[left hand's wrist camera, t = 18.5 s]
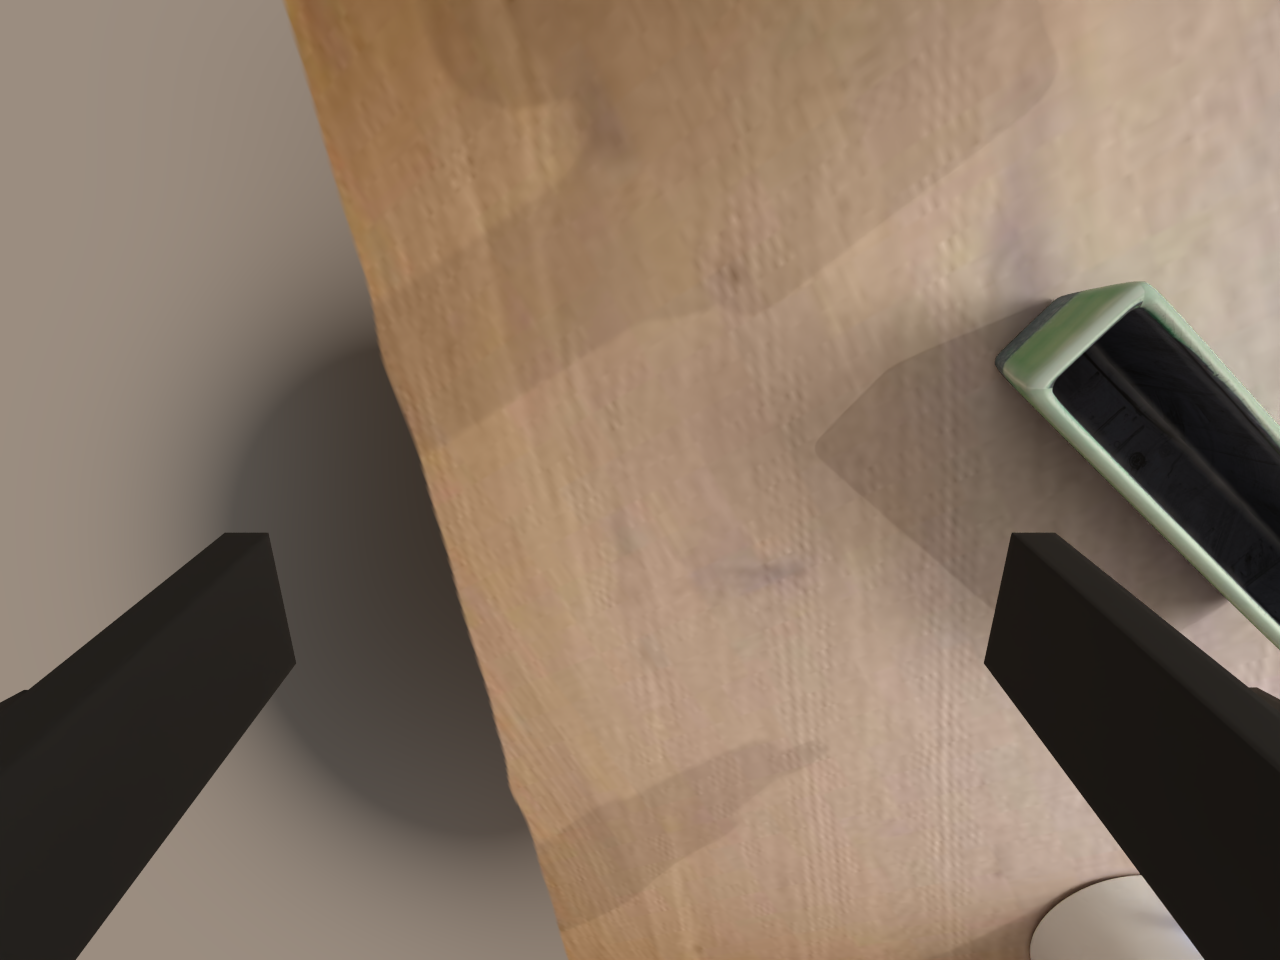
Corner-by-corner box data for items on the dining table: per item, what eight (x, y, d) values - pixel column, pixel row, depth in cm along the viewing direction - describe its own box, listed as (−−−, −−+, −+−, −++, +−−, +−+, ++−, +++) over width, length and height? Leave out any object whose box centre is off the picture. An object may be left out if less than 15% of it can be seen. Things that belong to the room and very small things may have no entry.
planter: (960, 360, 41) (1023, 391, 34) (1061, 261, 39) (1148, 274, 32) (1228, 622, 48) (1325, 692, 41) (1327, 549, 46) (1445, 610, 39)
